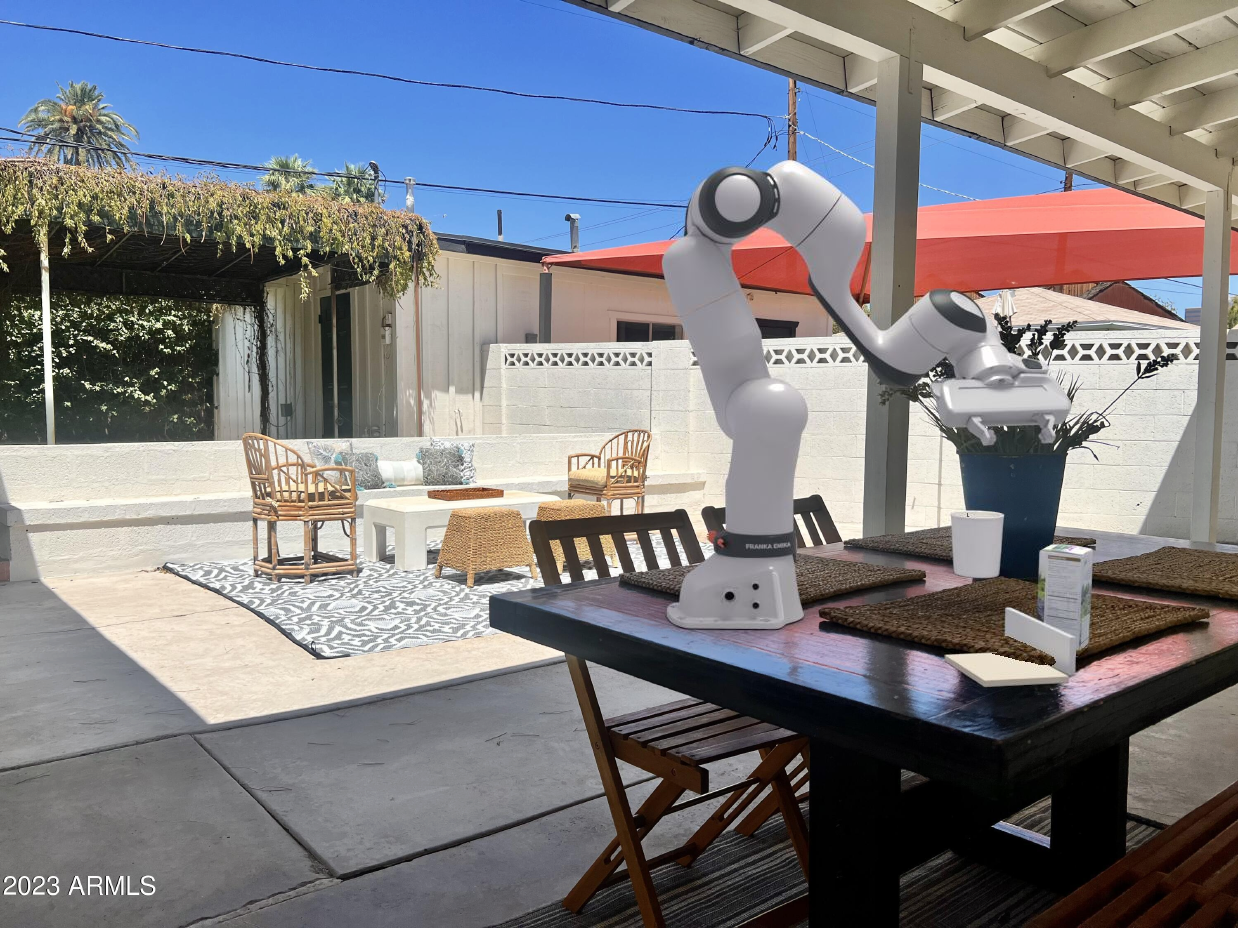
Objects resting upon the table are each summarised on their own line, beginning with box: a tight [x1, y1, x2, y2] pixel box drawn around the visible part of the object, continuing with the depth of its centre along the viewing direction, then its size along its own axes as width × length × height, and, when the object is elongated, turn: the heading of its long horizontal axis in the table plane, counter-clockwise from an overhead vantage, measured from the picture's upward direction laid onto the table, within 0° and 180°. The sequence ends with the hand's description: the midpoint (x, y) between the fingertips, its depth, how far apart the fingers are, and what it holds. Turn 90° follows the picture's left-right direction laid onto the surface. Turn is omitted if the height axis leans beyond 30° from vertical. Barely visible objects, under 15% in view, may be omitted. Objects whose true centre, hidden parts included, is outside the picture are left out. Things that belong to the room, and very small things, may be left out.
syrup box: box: [1036, 544, 1094, 650], centre depth 127 cm, size 6×6×14 cm
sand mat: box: [944, 652, 1070, 688], centre depth 118 cm, size 11×11×1 cm
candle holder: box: [950, 510, 1005, 579], centre depth 179 cm, size 10×10×12 cm
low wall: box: [1004, 607, 1077, 677], centre depth 124 cm, size 1×16×5 cm, turn 5°
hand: (1020, 441), depth 138 cm, fingers open, 8 cm apart
